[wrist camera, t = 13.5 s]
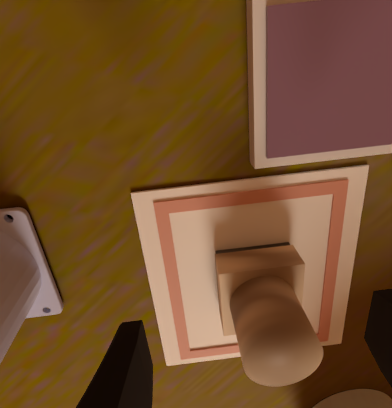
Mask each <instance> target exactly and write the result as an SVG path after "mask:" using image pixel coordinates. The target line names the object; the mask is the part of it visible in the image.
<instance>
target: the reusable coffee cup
mask: <svg viewBox="0 0 392 408" xmlns="http://www.w3.org/2000/svg"><path fill="white" fill-rule="evenodd" d="M313 408H392V399H391V398H390V397H389V396H388V395H387V394H385V393H383V392H381V391H377V390H373V389H354V390H347V391H344V392H340V393H337V394H334V395H332V396H329V397H327V398H326V399H324V400H322V401H320V402H319V403H318V404H316V405H315V406H314V407H313Z"/></svg>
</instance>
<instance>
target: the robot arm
mask: <svg viewBox="0 0 392 408" xmlns="http://www.w3.org/2000/svg"><path fill="white" fill-rule="evenodd" d="M7 215H11V216H12V217H13V219H14V220H13V219H10V218H8V216H7ZM46 307H48V308H50V309H47V308H46ZM63 307H64V306H63V302H62V300H61V297H60V295H59V292H58V289H57V287H56V284H55V281H54V279H53V276H52V273H51V271H50V268H49V266H48V263H47V260H46V258H45V255H44V252H43V250H42V247H41V244H40V242H39V239H38V237H37V234H36V231H35V229H34V226H33V223H32V221H31V218H30V216H29V213H28V212H27V211H26V210H25V209H24V208H21V207H14V208H6V209H0V363H1V361H2V360H3V358H4V356H5V354H6V352H7V351H8V349H9V347H10V345H11V343H12V341H13V340H14V338H15V336H16V334H17V332H18V331H19V329H20V327H21V325H22V323H23V322H24V320H25V318H31V317H39V316H47V315H55V314H59V313H61V311H62V309H63ZM364 338H365V340H366V342H367V344H368V346H369V349H370V351H371V353H372V355H373V357H374V358H375V360H376V362H377V364H378V366H379V368H380V370H381V372H382V373H383V375H384V376H385V378H386V379H387V381H388V382H389V384H390V385H391V387H392V289H387V290H379V291H374V292H373V297H372V302H371V307H370V312H369V317H368V321H367V326H366V331H365V336H364ZM152 392H153V364H152V360H151V355H150V351H149V347H148V343H147V339H146V334H145V330H144V326H143V322H142V320H139V321H131V322H123V323H122V324H121V325H120V326H119V328H118V330H117V332H116V334H115V336H114V338H113V341H112V343H111V345H110V347H109V349H108V351H107V353H106V355H105V357H104V358H103V360H102V362H101V364H100V366H99V368H98V370H97V372H96V373H95V375H94V377H93V379H92V381H91V382H90V384H89V386H88V388H87V390H86V391H85V393H84V395H83V397H82V398H81V400H80V402H79V403H78V405H77V407H76V408H152Z"/></svg>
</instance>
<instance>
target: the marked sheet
mask: <svg viewBox="0 0 392 408" xmlns="http://www.w3.org/2000/svg"><path fill="white" fill-rule="evenodd" d="M368 169H369V165H359V166H350V167H341V168H333V169H324V170H316V171H307V172H299V173H290V174H282V175H273V176H265V177H256V178H247V179H239V180H230V181H222V182H213V183H205V184H196V185H188V186H179V187H171V188H162V189H154V190H145V191H136V192H131V197H132V202H133V207H134V212H135V216H136V221H137V226H138V231H139V236H140V240H141V245H142V250H143V255H144V260H145V264H146V269H147V274H148V279H149V283H150V288H151V293H152V298H153V303H154V307H155V312H156V317H157V322H158V327H159V331H160V336H161V341H162V346H163V351H164V355H165V360H166V365H167V366H171V365H179V364H186V363H194V362H202V361H210V360H217V359H225V358H233V357H241V355H240V350H239V346H238V342H237V337H236V335H229V336H224V335H223V329H222V324H221V318H220V313H219V301H218V289H217V277H216V264H215V254H216V253H215V251H217V250H225V249H234V248H242V247H251V246H259V245H267V244H276V243H284V242H289V243H290V245H293V246H294V247H295V249H296V250H297V252H298V253H299V255H300V257H301V258H302V260H303V261H304V263H305V273H304V286H303V299H302V308H303V310H304V312H305V314H306V316H307V318H308V319H309V321H310V323H311V325H312V327H313V329H314V331H315V333H316V335H317V337H318V339H319V341H320V343H321V345H322V346H326V345H334V344H341V342H342V335H343V329H344V323H345V316H346V310H347V303H348V297H349V291H350V284H351V278H352V272H353V265H354V259H355V252H356V246H357V240H358V233H359V227H360V220H361V214H362V208H363V201H364V195H365V189H366V182H367V176H368Z"/></svg>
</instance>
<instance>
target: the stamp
mask: <svg viewBox="0 0 392 408" xmlns="http://www.w3.org/2000/svg"><path fill="white" fill-rule="evenodd" d="M215 253H216V254H215V264H216V277H217V289H218V301H219V313H220V318H221V324H222V329H223V335H224V336H229V335H236V337H237V342H238V346H239V350H240V355H241V359H242V364H243V368H244V371H245V373H246V375H247V376H248V377H249V378H250V379H251V380H252V381H254V382H256V383H258V384H261V385H265V386H285V385H290V384H293V383H296V382H299V381H301V380H303V379H305V378H306V377H308V376H309V375H311V374H312V373H313V372H314V371H315V370H316V369H317V368H318V366H319V365H320V363H321V361H322V359H323V347H322V345H321V343H320V341H319V339H318V337H317V335H316V333H315V331H314V329H313V327H312V325H311V323H310V321H309V319H308V318H307V316H306V314H305V312H304V310H303V308H302V299H303V286H304V273H305V263H304V261H303V260H302V258H301V257H300V255H299V253H298V252H297V250H296V249H295V247H294V246H293V245H290V243H289V242H284V243H276V244H267V245H259V246H251V247H242V248H234V249H225V250H217V251H215Z"/></svg>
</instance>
